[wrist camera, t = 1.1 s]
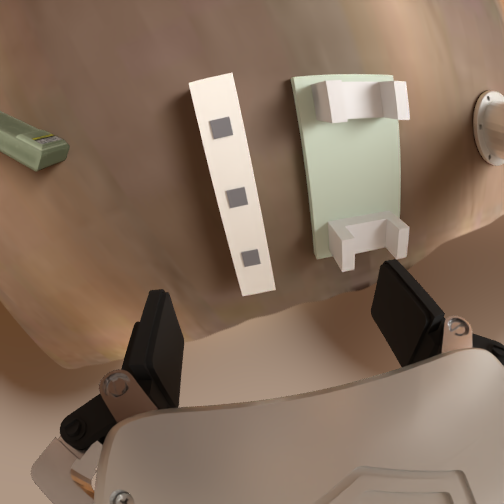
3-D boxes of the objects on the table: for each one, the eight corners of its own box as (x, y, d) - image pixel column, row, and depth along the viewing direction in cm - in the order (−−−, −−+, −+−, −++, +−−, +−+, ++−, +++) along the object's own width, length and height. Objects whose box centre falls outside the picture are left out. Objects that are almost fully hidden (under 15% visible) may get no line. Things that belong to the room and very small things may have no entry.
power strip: (232, 78, 25) (232, 72, 20) (270, 267, 37) (275, 290, 32) (195, 87, 25) (188, 82, 21) (241, 272, 37) (242, 297, 33)
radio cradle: (386, 76, 25) (417, 73, 19) (393, 237, 35) (416, 261, 30) (290, 78, 25) (305, 71, 19) (314, 253, 36) (328, 282, 30)
